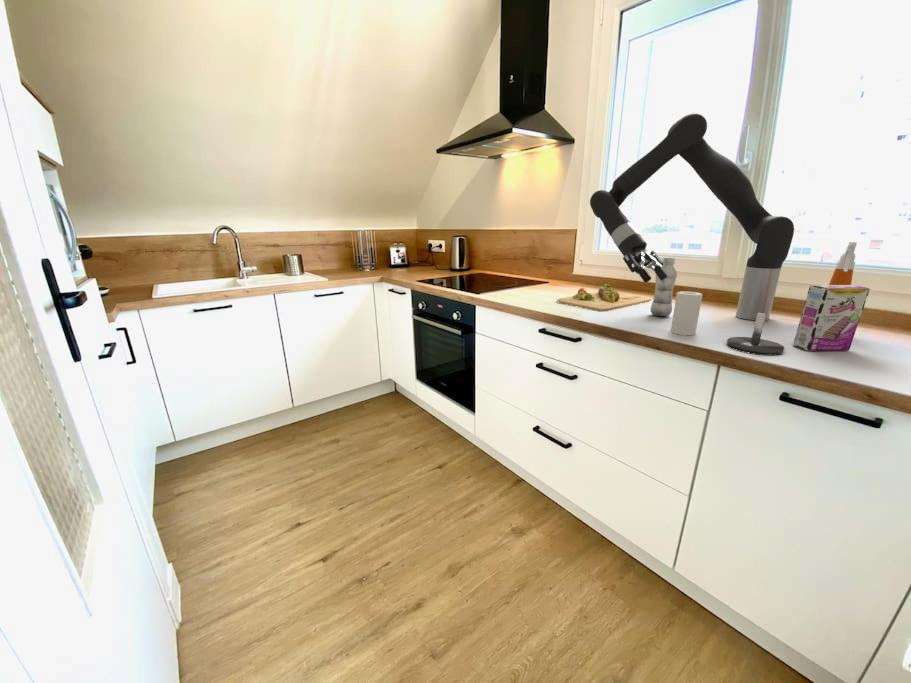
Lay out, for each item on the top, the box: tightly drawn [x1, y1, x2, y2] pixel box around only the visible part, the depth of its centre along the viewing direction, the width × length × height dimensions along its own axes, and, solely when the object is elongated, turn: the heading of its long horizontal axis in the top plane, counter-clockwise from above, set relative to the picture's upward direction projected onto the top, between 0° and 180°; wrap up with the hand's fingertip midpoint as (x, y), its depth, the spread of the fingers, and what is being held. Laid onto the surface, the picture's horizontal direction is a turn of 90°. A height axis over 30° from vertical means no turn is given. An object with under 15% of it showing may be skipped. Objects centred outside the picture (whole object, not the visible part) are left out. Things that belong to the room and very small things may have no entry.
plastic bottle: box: [650, 257, 678, 317], centre depth 133 cm, size 6×7×20 cm
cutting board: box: [556, 283, 652, 312], centre depth 160 cm, size 35×23×8 cm
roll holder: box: [726, 313, 785, 356], centre depth 100 cm, size 12×12×9 cm
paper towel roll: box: [670, 290, 703, 336], centre depth 113 cm, size 6×6×12 cm
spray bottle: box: [828, 241, 857, 285], centre depth 108 cm, size 7×11×26 cm, turn 137°
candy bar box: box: [792, 284, 871, 352], centre depth 97 cm, size 11×5×16 cm, turn 92°
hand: (656, 279), depth 119 cm, fingers open, 8 cm apart
